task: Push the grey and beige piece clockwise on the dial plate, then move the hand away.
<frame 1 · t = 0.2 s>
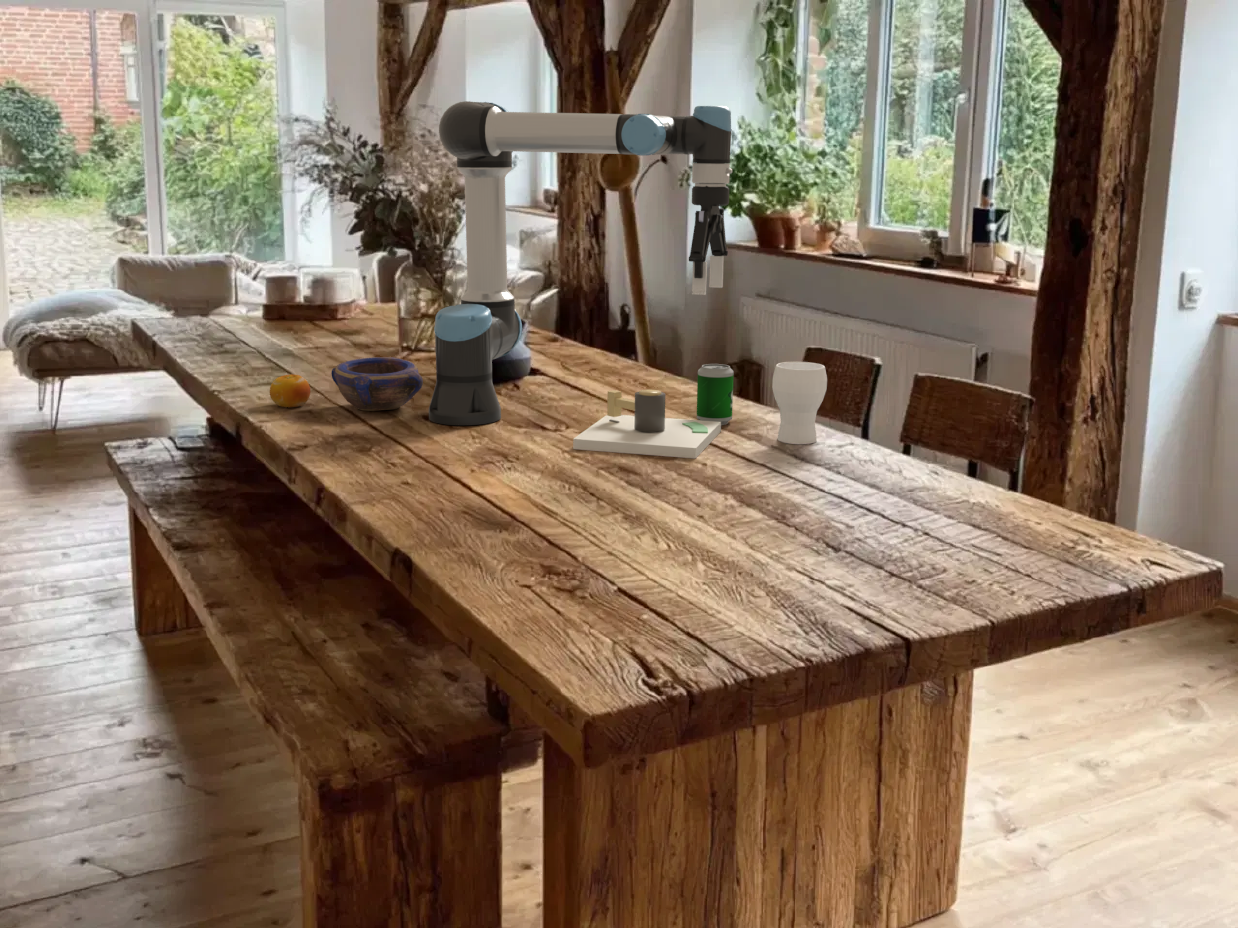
hand: (707, 291, 263), 28 cm above the table, fingers open, 13 cm apart
dial plate: (649, 439, 254), on the table
cup: (796, 441, 255), on the table
fruit: (291, 407, 282), on the table
grey and beige piece: (635, 407, 255), point 6 cm above the table, hinge at 150.0°
bowl: (378, 409, 281), on the table
soda can: (714, 423, 270), on the table
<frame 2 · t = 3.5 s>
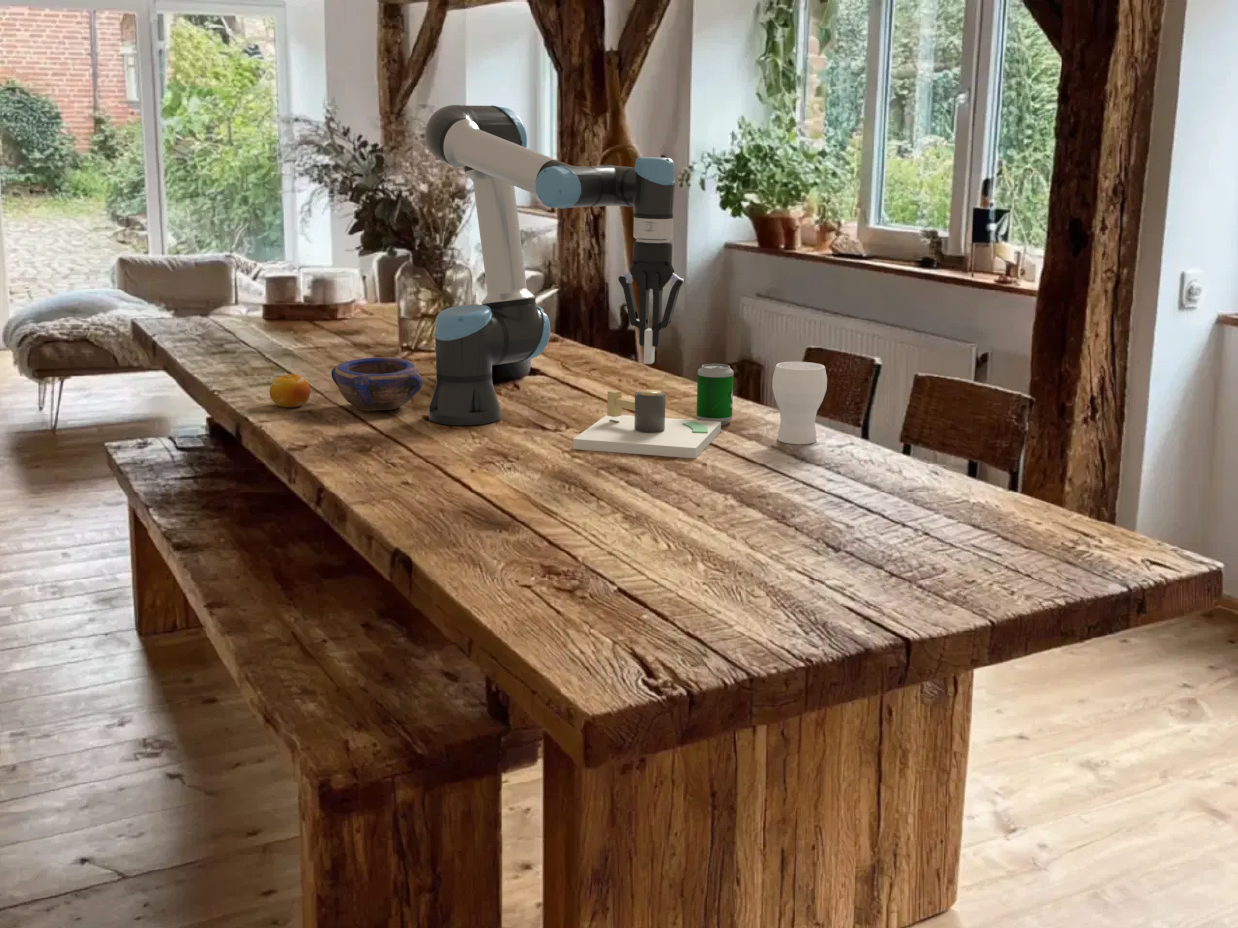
hand: (649, 362, 250), 15 cm above the table, fingers closed
nothing on the table moved.
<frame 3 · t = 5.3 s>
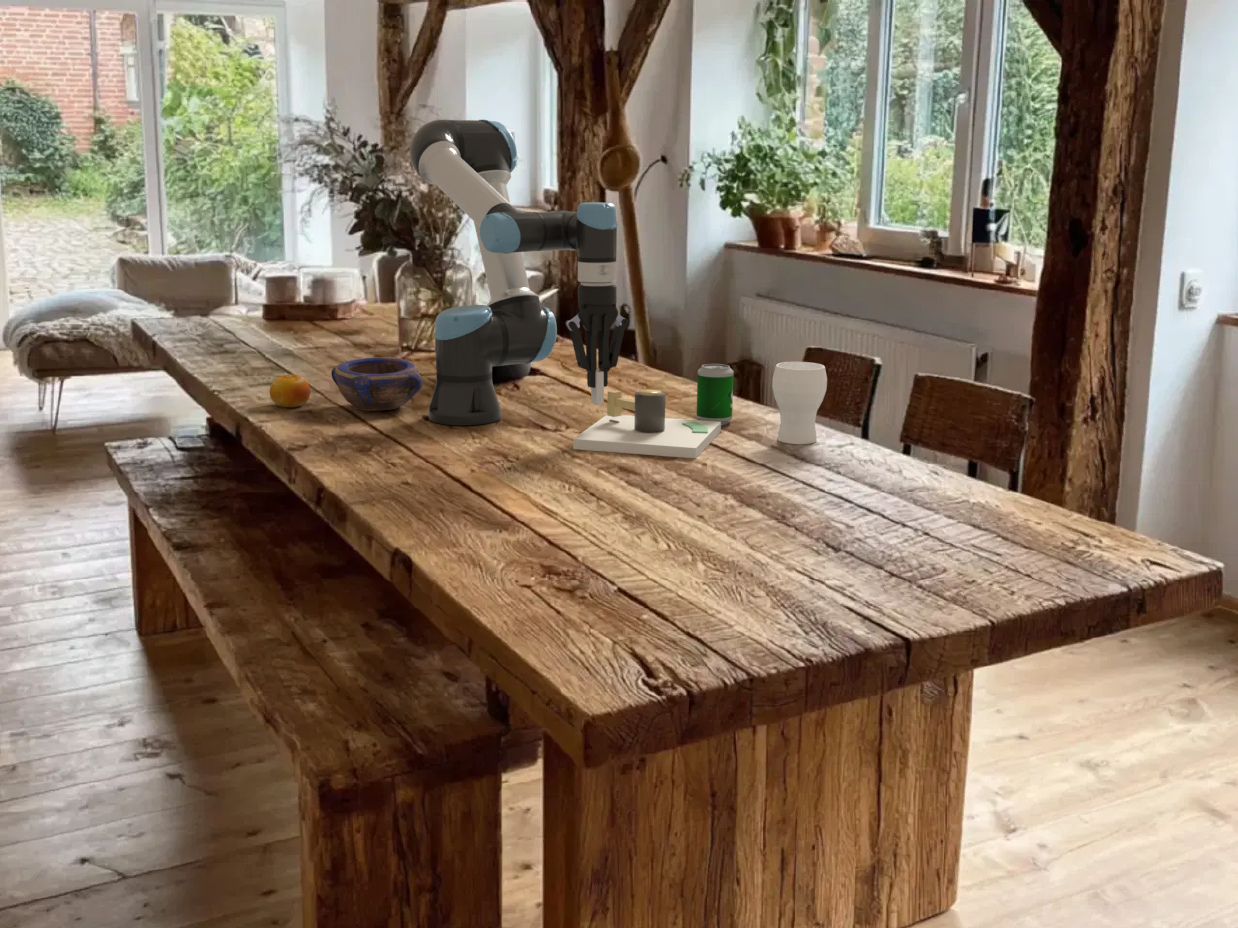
hand: (597, 403, 254), 7 cm above the table, fingers closed
nothing on the table moved.
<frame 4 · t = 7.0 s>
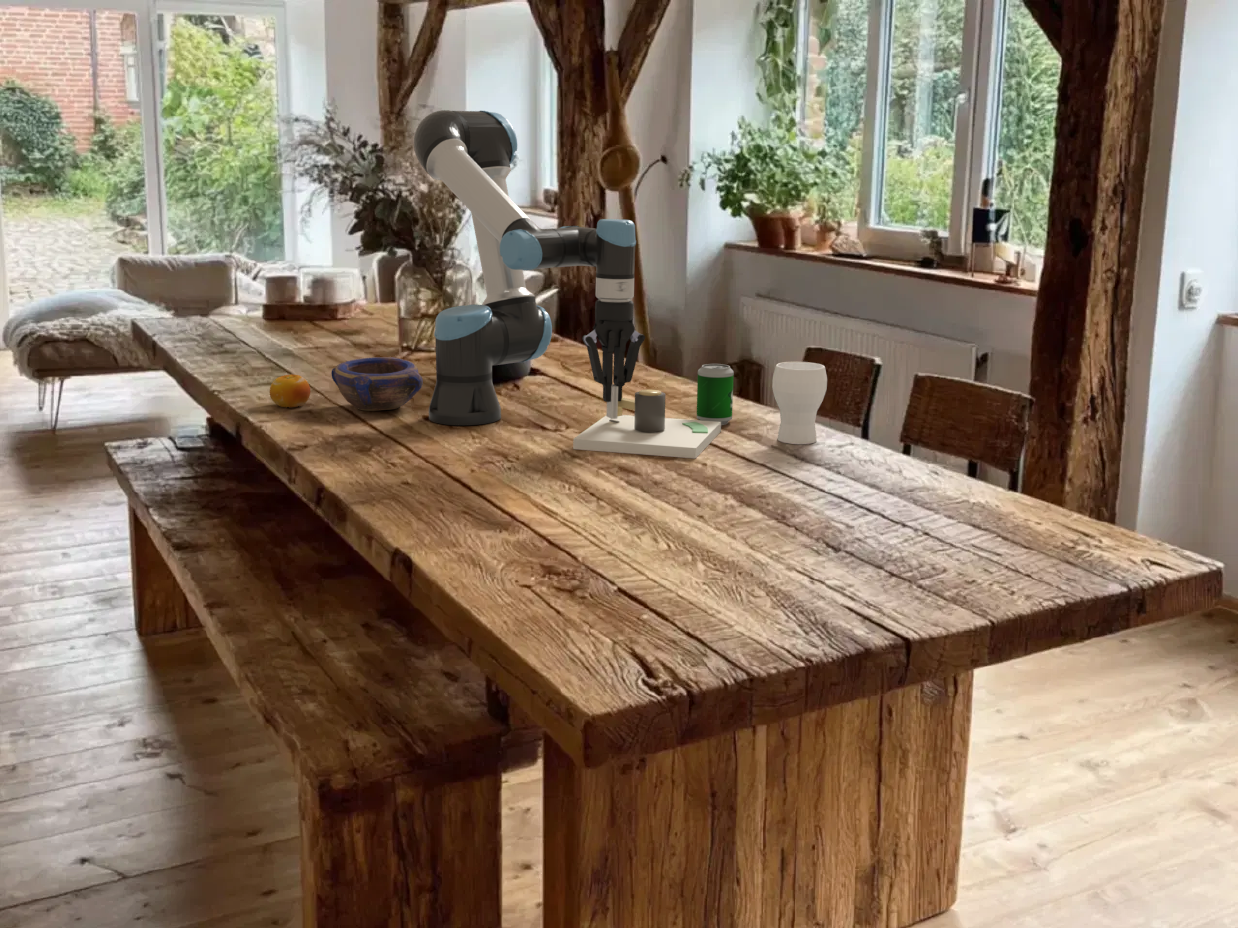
hand: (612, 417, 257), 4 cm above the table, fingers closed
grey and beige piece: (635, 407, 255), point 6 cm above the table, hinge at 148.6°, touching gripper
everything else where it was.
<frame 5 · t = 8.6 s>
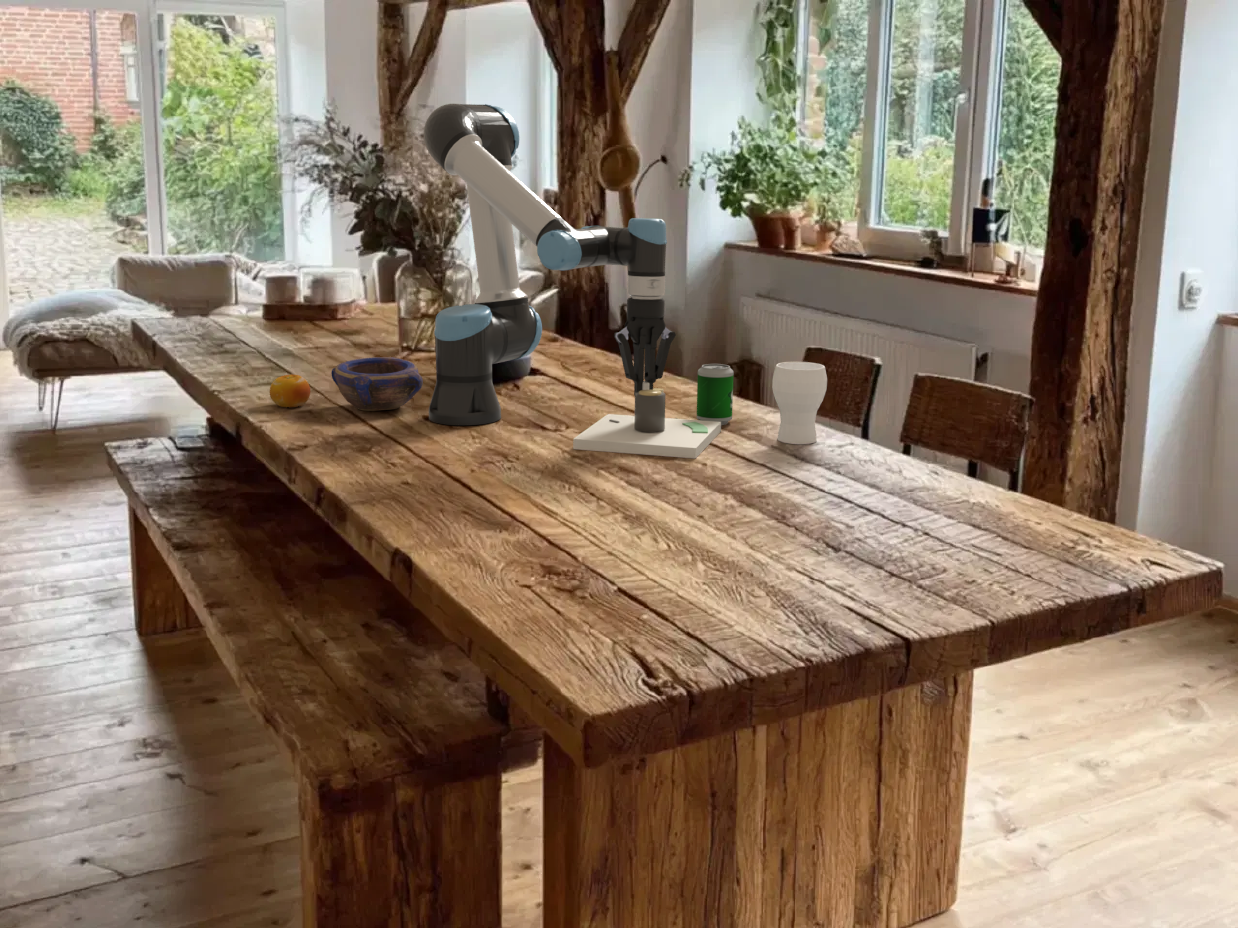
hand: (643, 413, 260), 4 cm above the table, fingers closed
grey and beige piece: (653, 406, 256), point 6 cm above the table, hinge at 94.9°, touching gripper
everything else where it was.
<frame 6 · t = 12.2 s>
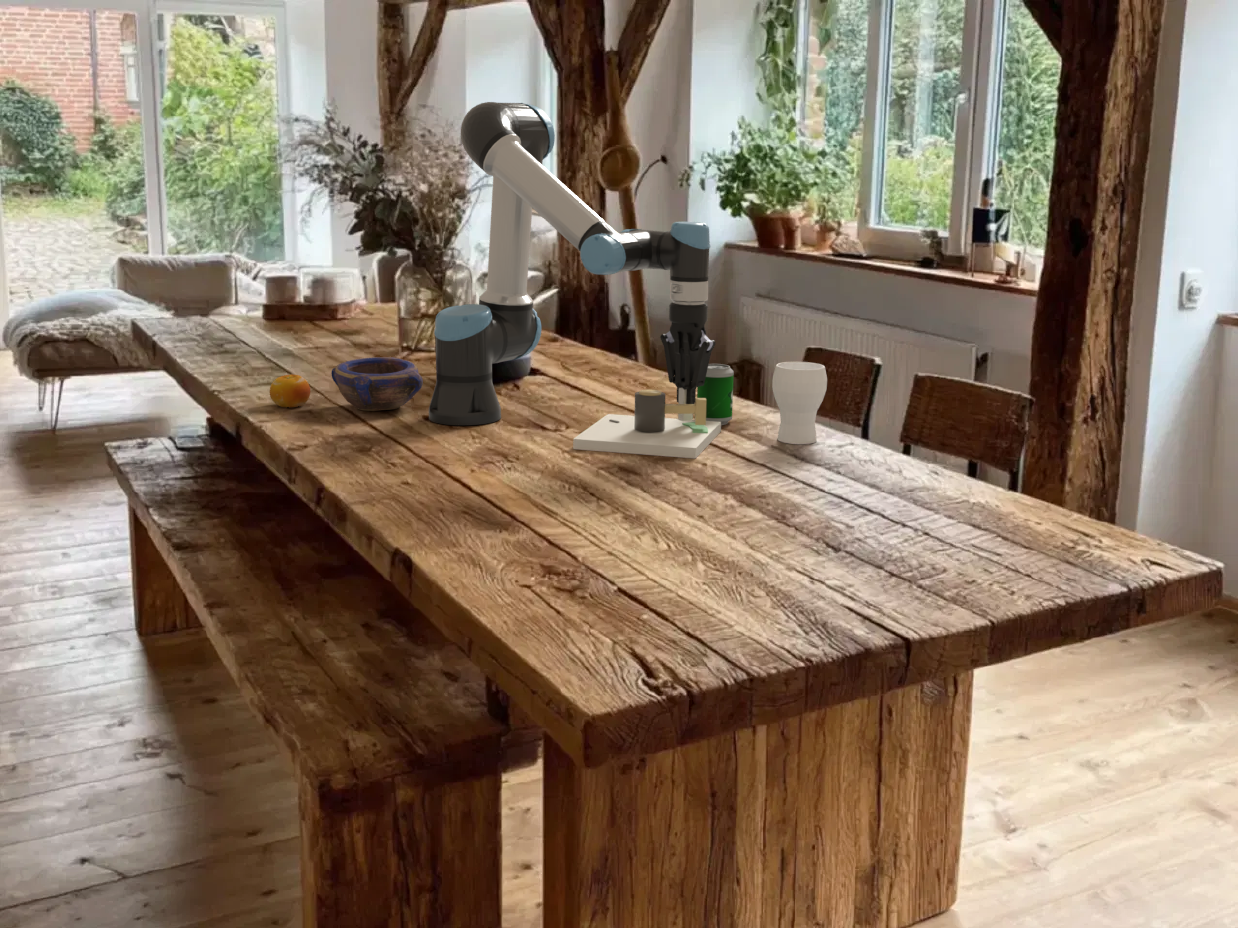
hand: (685, 419, 257), 3 cm above the table, fingers closed
grey and beige piece: (670, 410, 252), point 6 cm above the table, hinge at 17.5°
everything else where it was.
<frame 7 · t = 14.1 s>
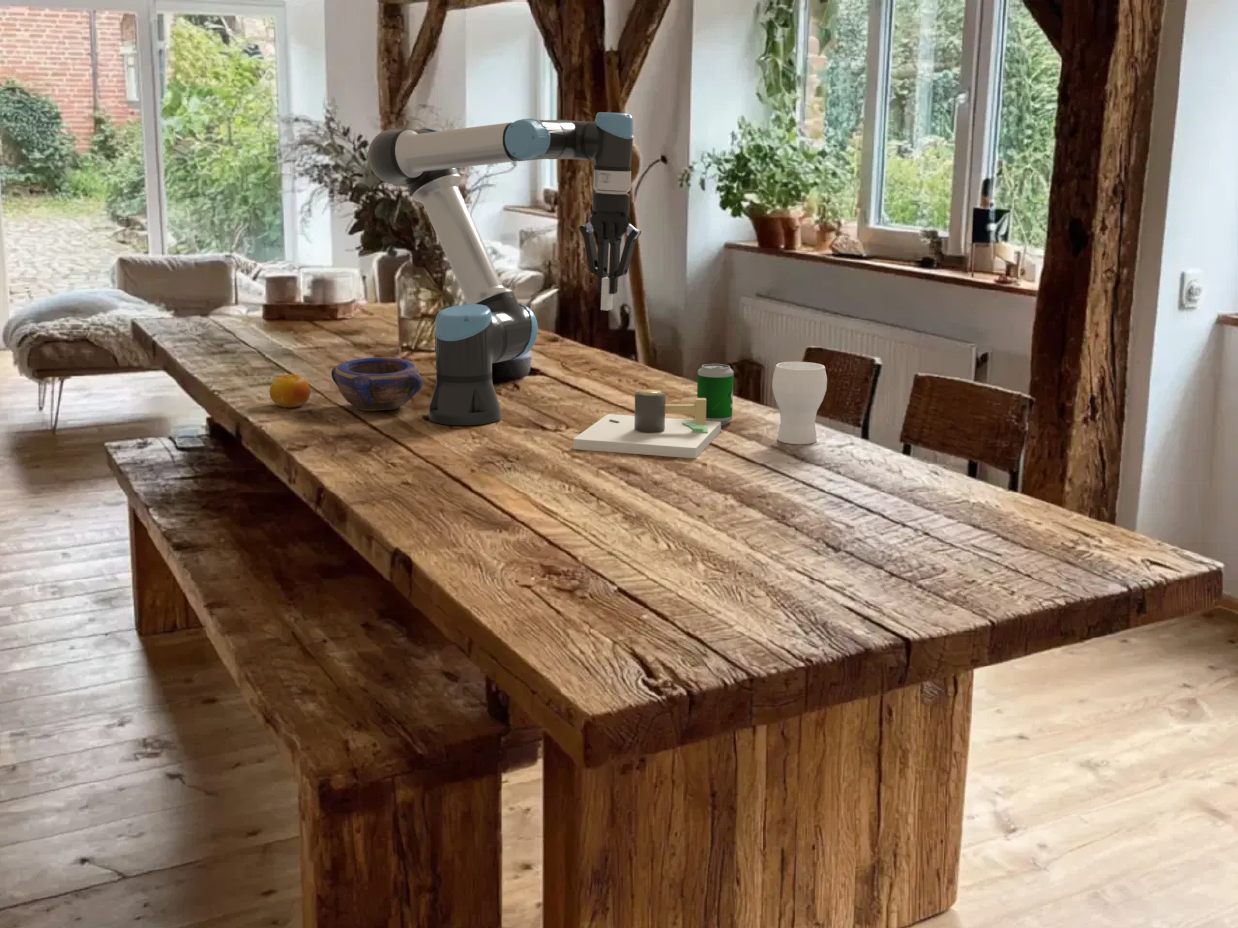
hand: (606, 309, 263), 24 cm above the table, fingers closed
nothing on the table moved.
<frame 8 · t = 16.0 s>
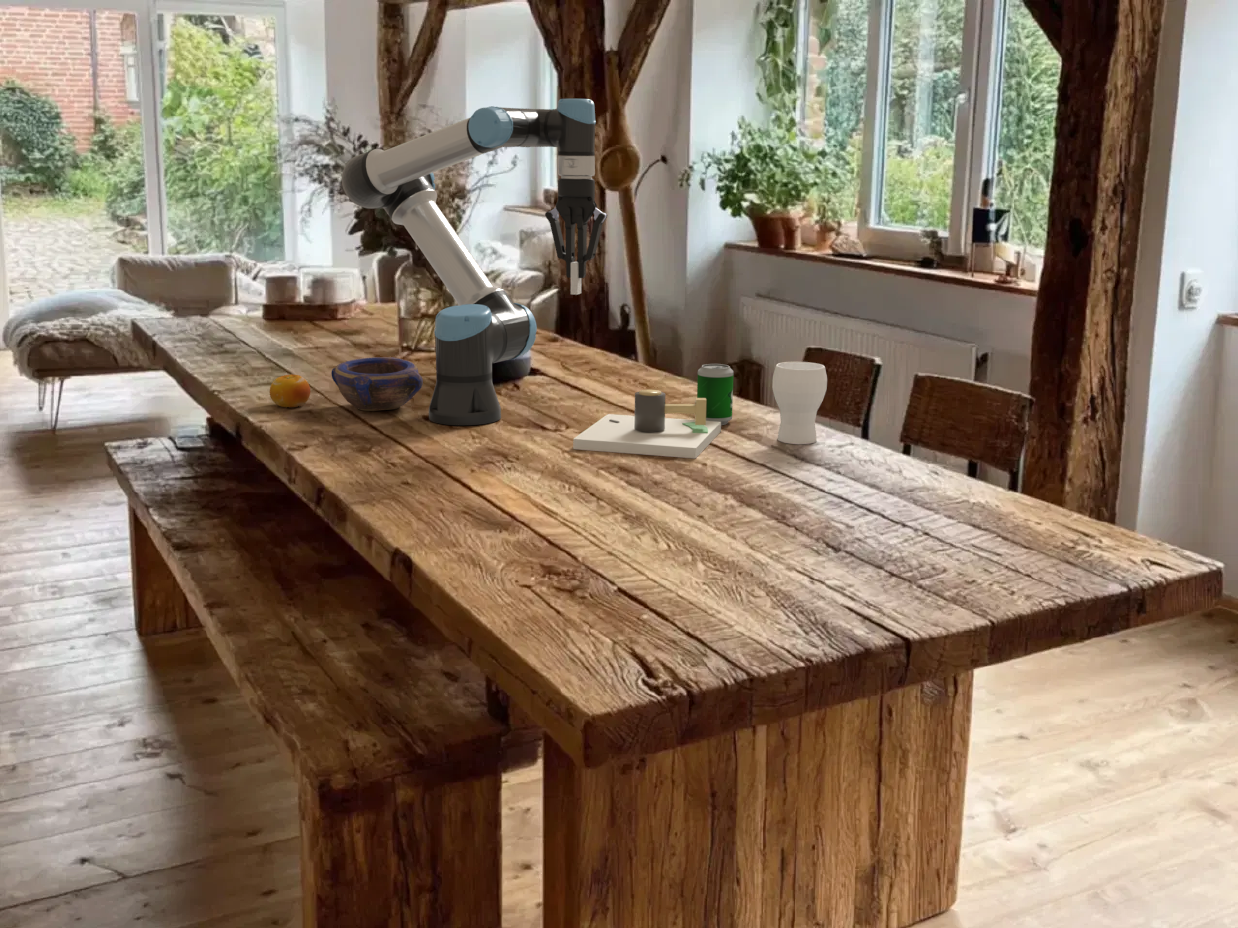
hand: (576, 293, 266), 26 cm above the table, fingers closed
nothing on the table moved.
at the end: grey and beige piece at +17° (first picture: +150°) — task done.
